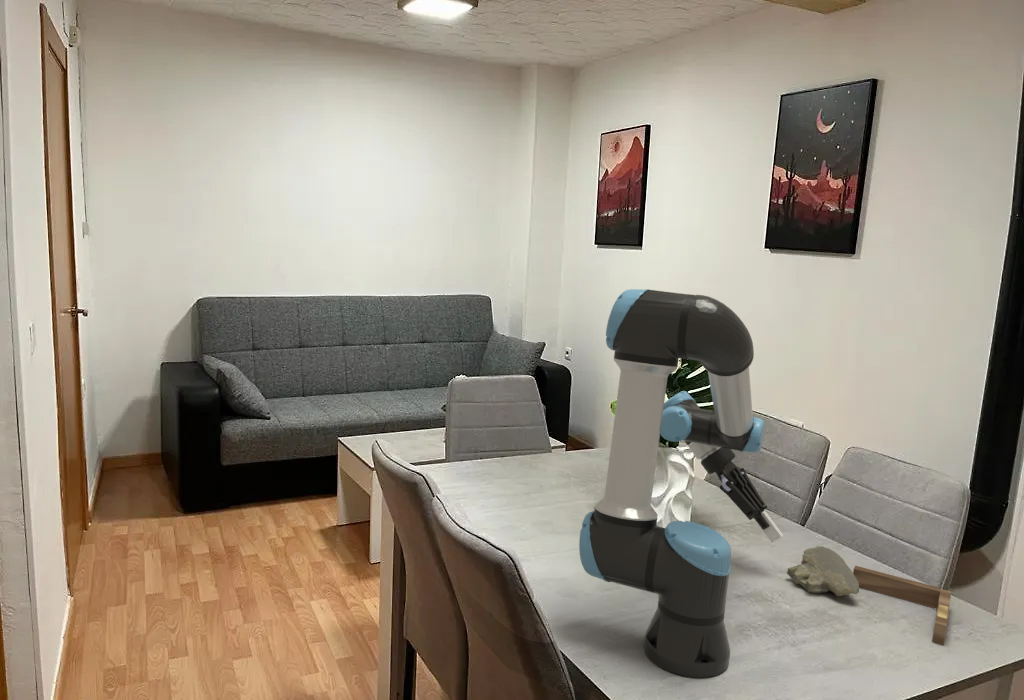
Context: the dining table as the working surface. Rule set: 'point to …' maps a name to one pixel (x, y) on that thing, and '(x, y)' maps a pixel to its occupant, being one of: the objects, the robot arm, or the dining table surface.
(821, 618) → the dining table surface
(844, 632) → the dining table surface
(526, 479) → the dining table surface
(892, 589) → the brown wooden l-shaped piece
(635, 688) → the dining table surface
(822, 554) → the jagged rock
